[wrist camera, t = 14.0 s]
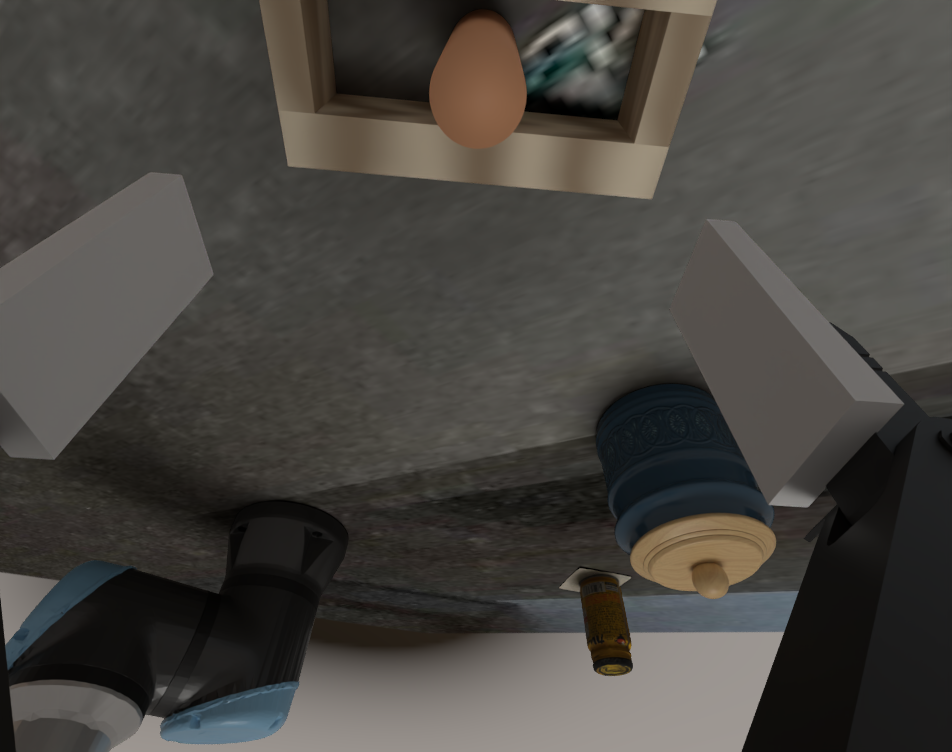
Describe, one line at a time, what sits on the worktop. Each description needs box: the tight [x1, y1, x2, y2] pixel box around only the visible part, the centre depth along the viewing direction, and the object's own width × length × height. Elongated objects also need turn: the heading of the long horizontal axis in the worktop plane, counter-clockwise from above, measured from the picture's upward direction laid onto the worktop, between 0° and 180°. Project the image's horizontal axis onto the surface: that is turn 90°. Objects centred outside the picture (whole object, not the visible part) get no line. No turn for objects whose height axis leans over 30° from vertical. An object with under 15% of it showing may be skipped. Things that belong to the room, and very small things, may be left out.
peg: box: [429, 9, 527, 149], centre depth 24 cm, size 4×4×12 cm
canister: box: [596, 384, 776, 599], centre depth 43 cm, size 13×13×18 cm
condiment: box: [559, 568, 633, 676], centre depth 69 cm, size 7×8×12 cm
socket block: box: [259, 0, 717, 199], centre depth 27 cm, size 22×12×5 cm, turn 85°
